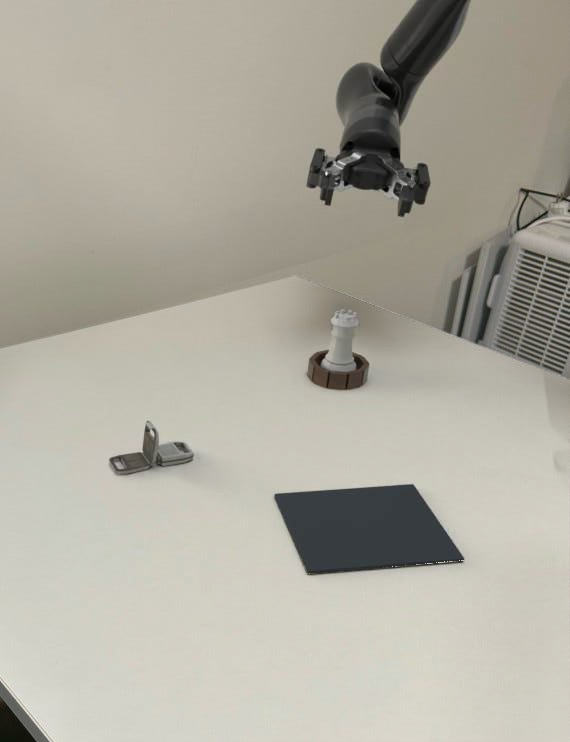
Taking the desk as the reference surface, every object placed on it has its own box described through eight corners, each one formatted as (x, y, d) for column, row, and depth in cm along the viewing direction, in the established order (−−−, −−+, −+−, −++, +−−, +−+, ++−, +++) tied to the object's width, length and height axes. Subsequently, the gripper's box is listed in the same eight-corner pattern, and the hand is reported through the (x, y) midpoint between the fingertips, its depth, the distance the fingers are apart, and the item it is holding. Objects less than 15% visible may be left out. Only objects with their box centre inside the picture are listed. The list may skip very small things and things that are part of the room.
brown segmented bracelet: (355, 362, 104) (357, 347, 103) (374, 388, 99) (376, 372, 97) (301, 365, 104) (303, 350, 102) (317, 391, 98) (319, 375, 97)
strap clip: (184, 447, 87) (185, 411, 85) (195, 461, 85) (196, 424, 82) (107, 461, 85) (106, 425, 82) (116, 476, 83) (115, 439, 80)
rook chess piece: (340, 388, 99) (349, 324, 94) (311, 375, 101) (318, 312, 96) (362, 377, 101) (373, 314, 96) (333, 365, 104) (342, 303, 99)
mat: (412, 487, 81) (413, 483, 81) (463, 562, 72) (464, 558, 72) (274, 496, 80) (274, 493, 80) (307, 574, 70) (308, 571, 70)
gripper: (320, 107, 104) (310, 161, 93) (435, 123, 102) (438, 180, 92) (309, 167, 109) (298, 225, 98) (417, 183, 108) (418, 243, 97)
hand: (366, 203), depth 95 cm, fingers open, 8 cm apart
